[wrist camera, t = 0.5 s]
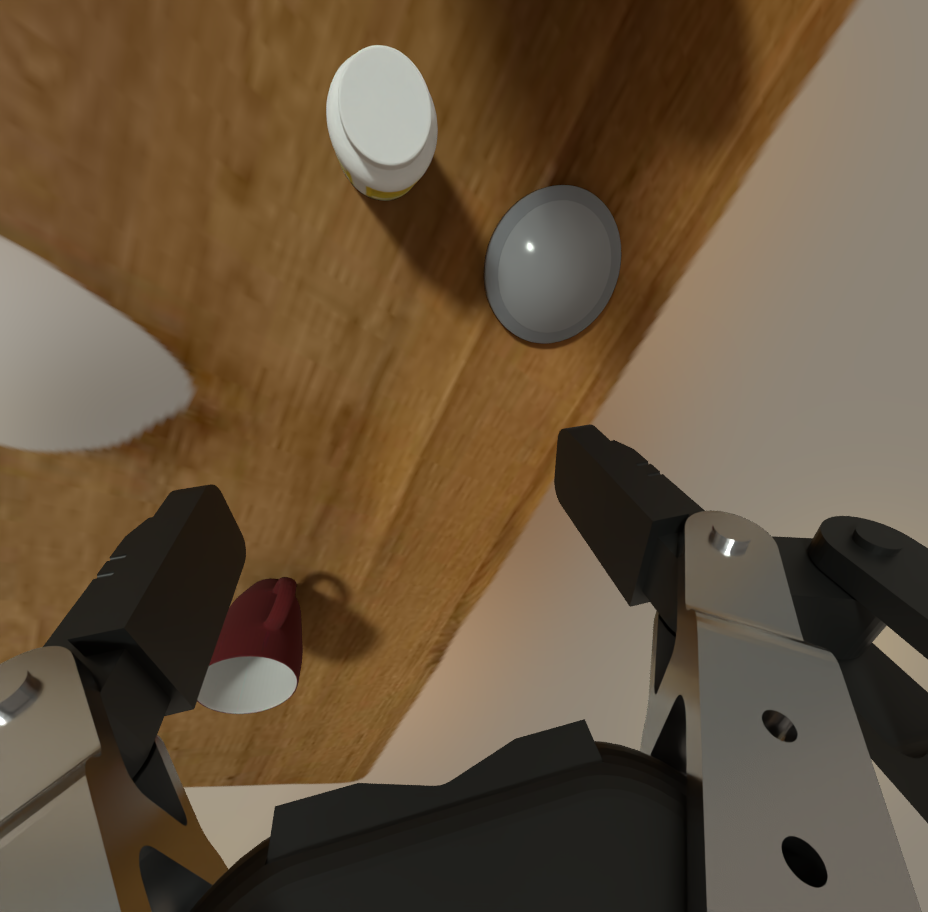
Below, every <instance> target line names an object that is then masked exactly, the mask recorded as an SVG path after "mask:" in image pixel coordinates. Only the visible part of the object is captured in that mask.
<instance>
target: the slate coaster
mask: <svg viewBox="0 0 928 912" xmlns="http://www.w3.org/2000/svg"><path fill="white" fill-rule="evenodd" d="M620 264H621V243H620V236H619V232H618V229H617V225H616V223H615V221H614V218H613V216H612V214H611V213H610V211H609V210H608V208H607V207H606V206H605V204H604V203H603V202H602V201H601V200H600V199H599V198H597V197H596V196H595V195H594V194H592V193H590V192H589V191H587V190H585V189H582V188H579V187H576V186H570V185H556V186H550V187H545V188H542V189H539V190H536V191H534V192H532V193H530V194H528V195H526V196H525V197H523V198H522V199H520V200H519V201H517V202H516V203H515V204H514V205H513V206H512V207H511V208H510V209H509V210H508V211H507V212H506V213H505V215H504V216H503V217H502V219H501V220H500V222H499V223H498V225H497V226H496V228H495V230H494V232H493V234H492V236H491V239H490V241H489V244H488V247H487V251H486V255H485V262H484V287H485V291H486V296H487V299H488V302H489V305H490V307H491V309H492V311H493V313H494V314H495V316H496V317H497V319H498V320H499V321H500V322H501V324H502V325H503V326H504V327H505V328H507V329H508V330H509V331H510V332H512V333H513V334H515V335H516V336H518V337H520V338H522V339H524V340H527V341H530V342H535V343H554V342H559V341H562V340H565V339H568V338H570V337H572V336H574V335H576V334H578V333H579V332H581V331H582V330H584V329H585V328H586V327H587V326H589V325H590V324H591V323H592V322H593V321H594V320H595V319H596V318H597V317H598V315H599V314H600V313H601V312H602V310H603V309H604V307H605V306H606V304H607V303H608V301H609V299H610V297H611V295H612V293H613V291H614V288H615V285H616V282H617V279H618V275H619V270H620Z"/></svg>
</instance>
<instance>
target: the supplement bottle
mask: <svg viewBox="0 0 928 912" xmlns="http://www.w3.org/2000/svg"><path fill="white" fill-rule="evenodd" d="M326 112H327V126H328V131H329V135H330V139H331V142H332V145H333V147H334V150H335V152H336V155H337V158H338V160H339V163H340V165H341V168H342V170H343V172H344V173H345V175H346V177H347V178H348V179H349V181H350V182H351V183H352V184H353V185H354V187H355V188H357V189H358V190H359V191H360V192H361V193H363V194H364V195H366V196H368V197H370V198H373V199H376V200H383V201H388V200H394V199H397V198H399V197H401V196H403V195H405V194H406V193H407V192H408V191H409V190H410V189H411V188H412V187H413V186H414V185H415V183H416V182H417V181H418V180H419V179H420V178H421V177H422V176H423V175H424V173H425V172H426V170H427V168H428V167H429V165H430V163H431V160H432V158H433V155H434V152H435V148H436V143H437V117H436V111H435V107H434V104H433V100H432V98H431V95H430V93H429V91H428V88H427V85H426V83H425V81H424V79H423V77H422V75H421V73H420V72H419V70H418V69H417V67H416V66H415V65H414V64H413V63H412V61H411V60H410V59H409V58H408V57H406V56H405V55H404V54H403V53H401V52H400V51H398V50H396V49H394V48H391V47H388V46H381V45H375V46H369V47H366V48H364V49H362V50H360V51H358V52H357V53H356V54H355V55H353V56H351V57H350V58H349V59H347V60H346V61H345V62H344V63H343V64H342V65H341V66H340V68H339V69H338V71H337V72H336V74H335V76H334V78H333V80H332V83H331V86H330V89H329V93H328V98H327V107H326Z"/></svg>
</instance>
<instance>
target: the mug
mask: <svg viewBox="0 0 928 912" xmlns="http://www.w3.org/2000/svg"><path fill="white" fill-rule="evenodd" d="M295 592H296V582H295V580H293V579H291V578H288V577H282V578H280V579H279V580H278V579H265V580H261V581H259V582H257V583H255V584H254V585H252V586H251V587H250V588H249V589H247V590H246V591H245V592H243V593H242V594H241V595H240V596H239V597H238V598H237V599H236V600H235V601H234V602H233V603H232V605H231V606H230V608H229V609H228V612H227V615H226V618H225V621H224V624H223V627H222V630H221V632H220V635H219V638H218V641H217V644H216V647H215V650H214V653H213V656H212V658H211V661H210V664H209V667H208V670H207V673H206V676H205V679H204V682H203V684H202V687H201V690H200V693H199V696H198V699H197V701H198V702H199V703H200V704H202V705H203V706H205V707H207V708H209V709H212V710H214V711H218V712H223V713H229V714H249V713H256V712H261V711H265V710H268V709H271V708H273V707H276V706H278V705H280V704H282V703H283V702H285V701H286V700H287V699H289V698H290V697H291V696H292V695H293V693H294V692H295V690H296V688H297V685H298V681H299V676H300V670H301V664H302V653H303V648H302V625H301V610H300V606H299V603H298V601H297V598H296V596H295Z"/></svg>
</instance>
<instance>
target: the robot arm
mask: <svg viewBox="0 0 928 912" xmlns="http://www.w3.org/2000/svg"><path fill="white" fill-rule="evenodd" d="M554 484H555V490H556V495H557V498H558V500H559V502H560V504H561V505H562V507H563V509H564V510H565V512H566V513H567V514H568V516H569V517H570V519H571V520H572V522H573V523H574V525H575V526H576V528H577V529H578V531H579V532H580V534H581V535H582V537H583V538H584V540H585V541H586V542H587V544H588V545H589V547H590V548H591V550H592V551H593V553H594V554H595V556H596V557H597V559H598V560H599V562H600V563H601V565H602V566H603V568H604V569H605V570H606V572H607V573H608V575H609V576H610V578H611V579H612V581H613V582H614V584H615V585H616V587H617V588H618V590H619V591H620V593H621V594H622V595H623V597H624V598H625V600H626V601H627V603H628V604H629V606H635V605H639V604H643V603H647V602H651V604H652V605H653V606H654V608H655V609H656V610H657V611H656V614H655V618H654V626H653V640H652V655H651V670H650V685H649V700H648V708H647V715H646V720H645V724H644V729H643V734H642V742H641V748H640V751H638V750H635V749H631V748H628V747H625V746H622V745H617V744H612V743H607V742H596V741H594V740H593V737H592V735H591V733H590V731H589V728H588V726H587V724H586V721H585V720H580V721H577V722H573V723H570V724H566V725H563V726H559V727H556V728H552V729H549V730H545V731H541V732H538V733H535V734H531V735H527V736H524V737H520V738H517V739H514V740H513V741H511V742H510V743H508V744H507V745H505V746H504V747H502V748H501V749H499V750H497V751H496V752H495V753H493V754H491V755H490V756H488V757H487V758H485V759H484V760H482V761H481V762H479V763H478V764H476V765H475V766H473V767H471V768H470V769H468V770H467V771H465V772H464V773H462V774H461V775H459V776H458V777H456V778H455V779H453V780H452V781H450V782H448V783H446V784H443V785H440V786H421V785H394V784H368V783H357V784H353V785H350V786H346V787H343V788H339V789H336V790H332V791H329V792H325V793H322V794H318V795H314V796H311V797H307V798H304V799H300V800H296V801H293V802H290V803H286V804H283V805H279V806H275V810H274V817H273V824H272V830H271V836H270V837H269V838H267V839H266V840H264V841H262V842H261V843H260V844H259V845H257V846H256V847H255V848H254V849H252V850H251V851H249V852H248V853H247V854H246V855H244V856H243V857H242V858H240V859H239V860H238V861H237V862H236V863H235V864H234V865H233V866H232V867H231V868H230V869H229V870H228V868H227V866H226V865H225V863H224V861H223V860H222V858H221V857H220V855H219V854H218V853H217V851H216V850H215V849H214V847H213V846H212V845H211V843H210V842H209V841H208V839H207V838H206V836H205V834H204V832H203V831H202V829H201V827H200V825H199V822H198V820H197V818H196V815H195V813H194V811H193V809H192V806H191V804H190V802H189V799H188V797H187V795H186V792H185V790H184V788H183V786H182V783H181V781H180V779H179V776H178V774H177V772H176V770H175V767H174V765H173V763H172V760H171V758H170V756H169V753H168V751H167V749H166V747H165V744H164V742H163V741H162V739H161V738H160V737H159V736H158V735H157V733H158V731H159V728H160V726H161V723H162V721H163V718H164V716H167V715H171V714H175V713H180V712H184V711H188V710H192V709H194V708H195V705H196V702H197V699H198V696H199V693H200V690H201V687H202V684H203V682H204V679H205V676H206V673H207V670H208V667H209V664H210V661H211V658H212V656H213V653H214V650H215V647H216V644H217V641H218V638H219V635H220V632H221V630H222V627H223V624H224V621H225V618H226V615H227V612H228V609H229V606H230V604H231V601H232V598H233V595H234V592H235V589H236V586H237V583H238V580H239V578H240V575H241V572H242V569H243V566H244V563H245V557H246V548H245V542H244V538H243V535H242V533H241V531H240V529H239V527H238V525H237V523H236V521H235V519H234V517H233V515H232V513H231V511H230V509H229V507H228V505H227V503H226V501H225V499H224V497H223V495H222V493H221V491H220V490H219V488H218V487H217V486H215V485H205V486H199V487H193V488H186V489H180V490H175V491H172V492H171V493H170V494H169V495H168V496H167V498H166V499H165V501H164V502H163V504H162V505H161V506H160V508H159V509H158V511H157V512H156V514H155V515H154V516H153V517H151V518H148V519H147V520H145V521H144V522H143V523H142V524H140V525H139V526H138V527H137V528H135V529H134V530H133V531H132V532H130V533H129V534H128V535H127V536H125V538H124V539H123V540H122V542H121V543H120V544H119V546H118V547H117V548H116V550H115V551H114V552H113V554H112V555H111V556H110V561H107V562H106V563H105V564H104V566H103V567H102V568H101V570H100V571H99V572H98V574H97V579H93V580H92V582H91V583H90V584H89V586H88V587H87V589H86V590H85V591H84V593H83V594H82V595H81V597H80V598H79V599H78V601H77V602H76V603H75V605H74V606H73V607H72V609H71V610H70V611H69V613H68V614H67V615H66V617H65V618H64V619H63V621H62V622H61V623H60V625H59V626H58V627H57V629H56V630H55V631H54V633H53V634H52V635H51V637H50V638H49V639H48V641H47V642H46V643H45V645H44V646H43V647H42V648H38V649H34V650H31V651H28V652H25V653H23V654H20V655H18V656H16V657H13V658H11V659H10V660H8V661H6V662H4V663H2V664H0V912H922V911H921V908H920V906H919V902H918V900H917V897H916V893H915V890H914V888H913V884H912V882H911V878H910V875H909V872H908V870H907V867H906V863H905V861H904V857H903V855H902V851H901V848H900V845H899V842H898V839H897V836H896V833H895V830H894V828H893V824H892V822H891V819H890V815H889V813H888V809H887V807H886V803H885V801H884V798H883V794H882V791H881V788H880V785H879V782H878V779H877V776H876V773H875V770H874V767H873V764H872V761H871V759H872V760H873V761H874V762H875V764H876V765H877V766H878V767H879V768H880V769H881V770H882V772H883V773H884V774H885V775H886V776H887V777H888V778H889V780H890V781H891V782H892V783H893V784H894V785H895V786H896V788H897V789H898V790H899V791H900V792H901V793H902V794H903V795H904V797H905V798H906V799H907V800H908V801H909V802H910V803H911V805H912V806H913V807H914V808H915V809H916V810H917V811H918V813H919V814H920V815H921V816H922V817H923V818H924V819H925V820H926V822H927V823H928V692H927V691H926V690H924V689H923V688H922V687H921V686H920V685H919V684H917V682H915V681H914V680H913V679H912V678H911V677H910V676H909V675H907V674H906V673H905V672H904V671H903V670H902V669H901V668H900V667H899V666H898V665H897V664H895V663H894V662H893V661H892V660H891V659H890V658H889V657H888V656H886V655H885V654H884V653H883V652H882V651H881V650H880V649H879V648H878V647H876V646H875V645H874V644H873V643H872V642H873V641H874V640H875V638H876V637H877V636H878V635H879V634H880V633H881V631H882V630H883V629H884V628H885V627H886V626H888V627H890V628H891V629H892V630H893V631H894V632H896V633H897V634H898V635H899V636H900V637H901V638H903V639H904V640H905V641H906V642H907V643H909V644H910V645H911V646H912V647H914V648H915V649H916V650H917V651H918V652H919V653H921V654H922V655H923V656H924V657H926V658H927V659H928V548H926V547H925V546H923V545H922V544H920V543H918V542H917V541H915V540H914V539H912V538H910V537H909V536H907V535H905V534H904V533H902V532H900V531H897V530H895V529H893V528H891V527H888V526H886V525H884V524H881V523H878V522H875V521H871V520H867V519H863V518H858V517H850V516H836V517H831V518H828V519H826V520H824V521H823V522H822V524H821V525H820V527H819V529H818V531H817V532H816V534H815V536H814V538H812V539H811V538H792V537H772V536H771V535H769V533H768V532H767V531H765V530H764V529H763V528H761V527H760V526H759V525H757V524H755V523H754V522H751V521H750V520H748V519H746V518H743V517H741V516H738V515H735V514H731V513H727V512H721V511H705V510H703V509H702V508H701V507H700V506H699V505H698V504H696V503H695V502H694V501H693V500H691V498H689V497H688V496H687V495H686V494H685V493H684V492H683V491H681V490H680V489H679V488H678V487H677V486H676V485H675V484H673V483H672V482H671V481H670V480H669V479H668V478H666V477H665V476H664V475H663V474H662V475H660V471H658V470H657V469H656V468H655V467H654V466H653V465H651V464H648V461H647V460H646V459H645V458H643V457H642V456H641V455H640V454H639V453H638V452H636V451H635V450H634V449H632V448H630V447H628V446H626V445H624V444H621V443H619V442H617V441H615V440H613V441H610V440H609V439H608V438H607V437H606V436H605V435H603V434H602V433H601V432H600V431H599V430H598V429H597V428H596V427H595V426H593V425H584V426H578V427H572V428H565V429H562V430H561V431H560V432H559V435H558V442H557V454H556V466H555V478H554Z"/></svg>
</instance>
